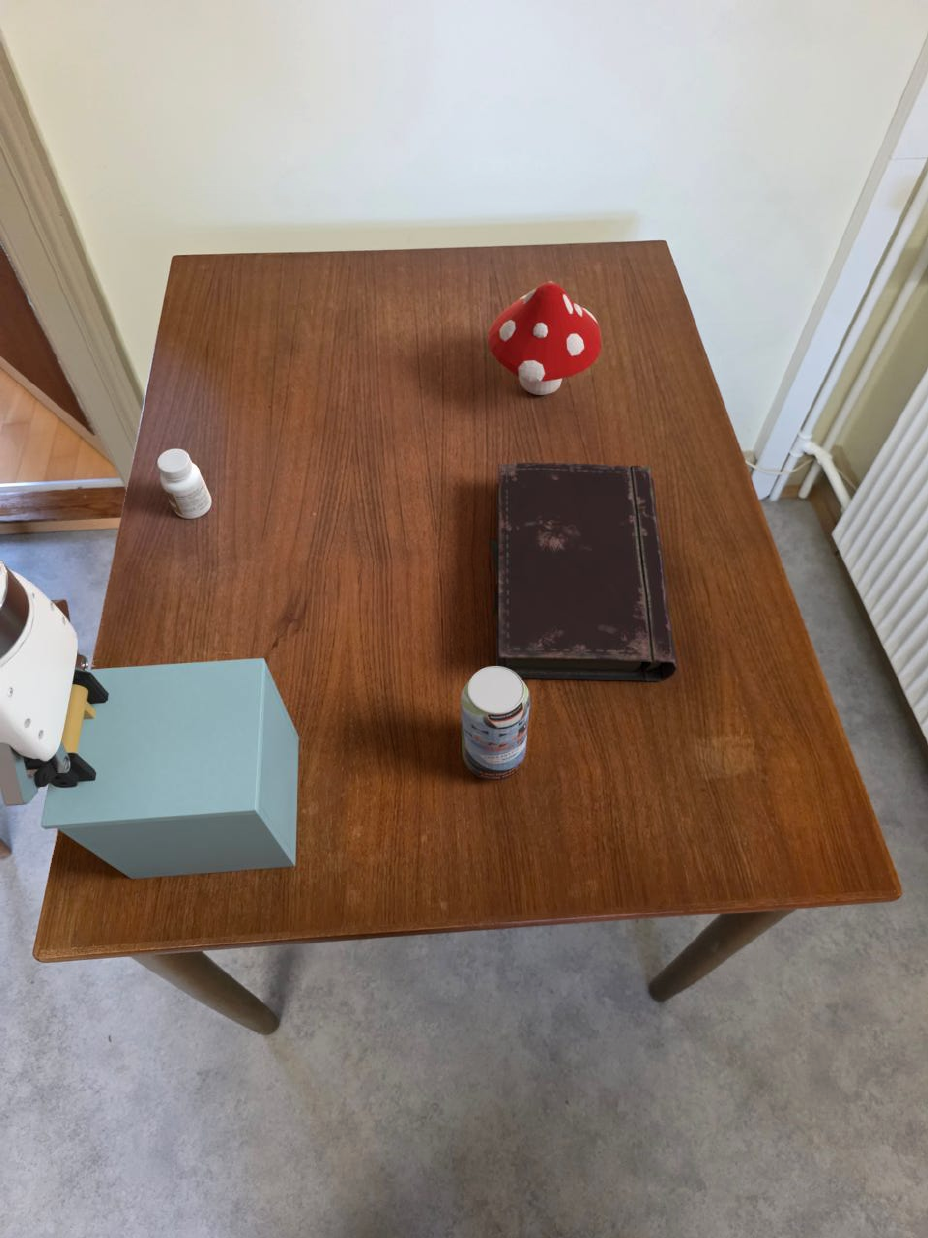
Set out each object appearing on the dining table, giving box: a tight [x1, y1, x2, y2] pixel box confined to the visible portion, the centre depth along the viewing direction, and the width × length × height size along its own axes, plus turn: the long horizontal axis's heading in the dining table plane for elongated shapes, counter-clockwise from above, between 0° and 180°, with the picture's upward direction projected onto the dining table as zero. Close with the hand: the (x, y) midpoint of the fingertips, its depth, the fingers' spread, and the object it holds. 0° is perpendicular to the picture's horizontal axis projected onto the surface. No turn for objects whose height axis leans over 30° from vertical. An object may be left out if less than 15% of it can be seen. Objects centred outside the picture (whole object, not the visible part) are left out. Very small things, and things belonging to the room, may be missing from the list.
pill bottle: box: [156, 448, 212, 520], centre depth 91 cm, size 4×4×8 cm
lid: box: [40, 657, 267, 830], centre depth 60 cm, size 15×13×5 cm
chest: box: [56, 663, 300, 880], centre depth 69 cm, size 15×13×16 cm
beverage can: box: [460, 665, 531, 781], centre depth 74 cm, size 6×7×12 cm
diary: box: [489, 462, 678, 682], centre depth 87 cm, size 19×25×5 cm
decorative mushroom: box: [487, 280, 602, 396], centre depth 98 cm, size 14×14×15 cm
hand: (81, 737), depth 61 cm, fingers closed on lid, 5 cm apart
